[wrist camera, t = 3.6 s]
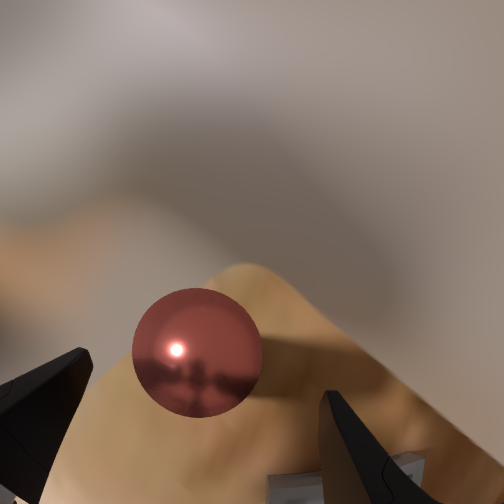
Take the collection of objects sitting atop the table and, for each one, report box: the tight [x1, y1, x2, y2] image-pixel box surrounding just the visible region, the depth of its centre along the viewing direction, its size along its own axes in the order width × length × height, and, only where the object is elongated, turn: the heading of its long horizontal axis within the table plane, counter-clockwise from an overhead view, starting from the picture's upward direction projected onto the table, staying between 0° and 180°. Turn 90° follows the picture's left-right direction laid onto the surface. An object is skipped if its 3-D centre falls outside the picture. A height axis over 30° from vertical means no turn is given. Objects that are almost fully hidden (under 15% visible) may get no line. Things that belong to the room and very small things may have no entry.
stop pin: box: [132, 288, 263, 418], centre depth 13 cm, size 4×4×10 cm
